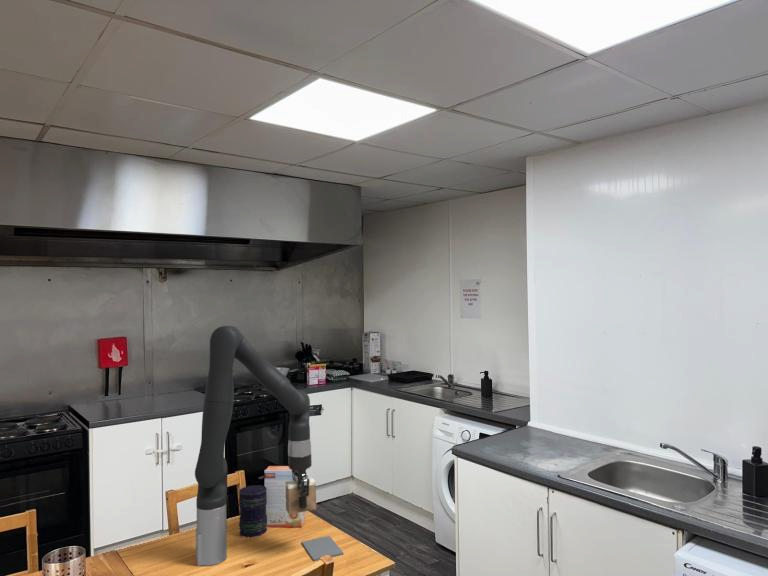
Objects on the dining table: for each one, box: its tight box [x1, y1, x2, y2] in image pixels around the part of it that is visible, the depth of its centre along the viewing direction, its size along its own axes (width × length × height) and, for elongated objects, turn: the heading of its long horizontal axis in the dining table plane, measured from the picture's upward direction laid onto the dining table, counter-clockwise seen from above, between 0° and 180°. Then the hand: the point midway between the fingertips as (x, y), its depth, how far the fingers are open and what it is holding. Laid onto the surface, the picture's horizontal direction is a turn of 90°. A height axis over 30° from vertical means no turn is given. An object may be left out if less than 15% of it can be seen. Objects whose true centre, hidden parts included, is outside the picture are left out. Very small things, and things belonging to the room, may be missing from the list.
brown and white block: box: [285, 477, 317, 514], centre depth 171 cm, size 9×4×9 cm, turn 114°
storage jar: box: [238, 484, 268, 539], centre depth 188 cm, size 10×10×15 cm
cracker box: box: [263, 465, 306, 528], centre depth 194 cm, size 14×6×21 cm, turn 84°
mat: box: [301, 535, 344, 562], centre depth 173 cm, size 10×14×1 cm
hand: (301, 505), depth 171 cm, fingers closed on brown and white block, 4 cm apart
